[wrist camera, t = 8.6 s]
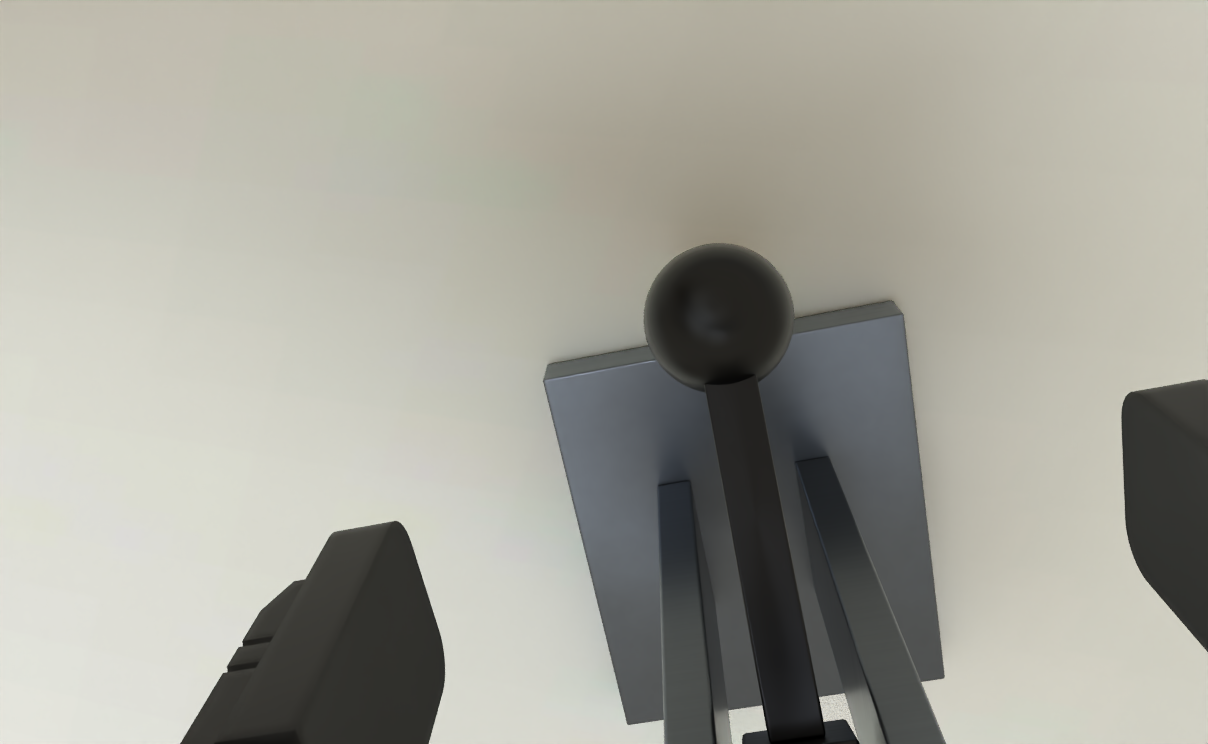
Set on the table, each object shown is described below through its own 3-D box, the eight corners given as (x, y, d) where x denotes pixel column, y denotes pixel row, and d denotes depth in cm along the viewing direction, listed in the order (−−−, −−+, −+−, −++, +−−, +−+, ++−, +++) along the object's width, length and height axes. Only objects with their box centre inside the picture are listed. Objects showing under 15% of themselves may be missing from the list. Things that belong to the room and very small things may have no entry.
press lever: (639, 280, 24) (624, 240, 21) (776, 254, 23) (781, 209, 20) (742, 871, 21) (742, 927, 18) (896, 851, 21) (923, 905, 18)
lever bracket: (546, 364, 30) (472, 649, 17) (892, 299, 29) (1100, 550, 16) (627, 699, 34) (619, 1139, 21) (933, 653, 33) (1127, 1087, 20)
